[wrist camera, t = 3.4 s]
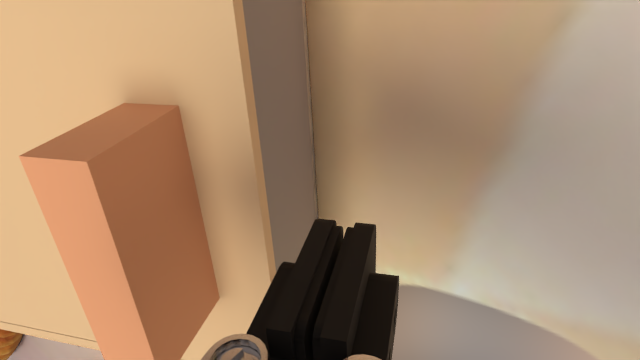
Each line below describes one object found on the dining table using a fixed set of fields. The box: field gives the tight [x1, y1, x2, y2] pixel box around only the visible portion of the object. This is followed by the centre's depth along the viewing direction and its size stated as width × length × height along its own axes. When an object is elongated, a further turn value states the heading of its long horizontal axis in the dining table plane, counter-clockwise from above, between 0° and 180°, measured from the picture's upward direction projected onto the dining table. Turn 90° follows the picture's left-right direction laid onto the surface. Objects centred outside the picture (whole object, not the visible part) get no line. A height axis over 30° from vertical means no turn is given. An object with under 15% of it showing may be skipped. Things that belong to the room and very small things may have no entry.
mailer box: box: [242, 0, 318, 272], centre depth 21 cm, size 20×16×6 cm
